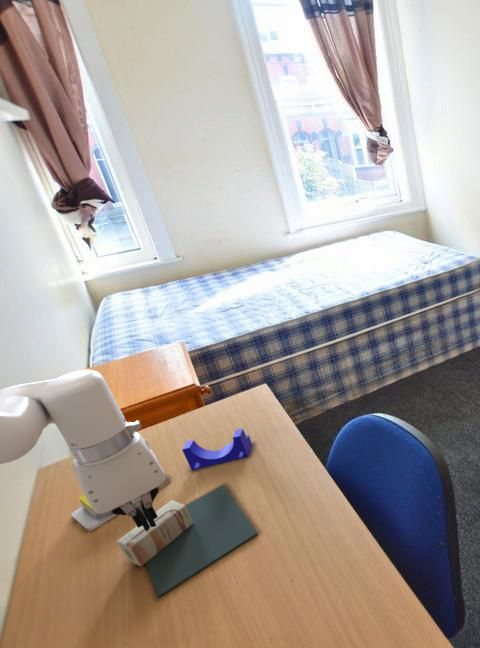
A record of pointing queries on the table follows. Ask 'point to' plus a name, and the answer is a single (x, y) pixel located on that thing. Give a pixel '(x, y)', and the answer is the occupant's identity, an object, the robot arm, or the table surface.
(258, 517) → the table surface
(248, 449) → the cable clip
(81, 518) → the emergency button
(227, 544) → the mat
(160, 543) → the printed medicine box
